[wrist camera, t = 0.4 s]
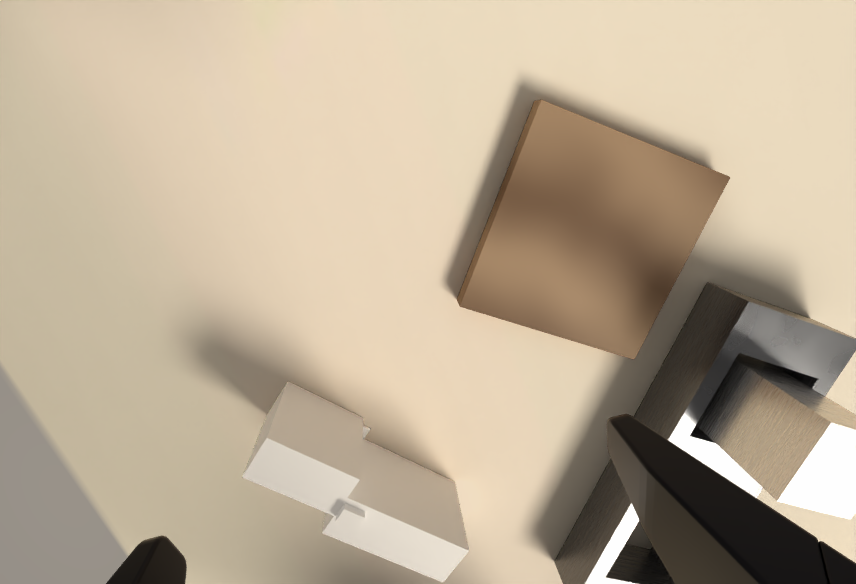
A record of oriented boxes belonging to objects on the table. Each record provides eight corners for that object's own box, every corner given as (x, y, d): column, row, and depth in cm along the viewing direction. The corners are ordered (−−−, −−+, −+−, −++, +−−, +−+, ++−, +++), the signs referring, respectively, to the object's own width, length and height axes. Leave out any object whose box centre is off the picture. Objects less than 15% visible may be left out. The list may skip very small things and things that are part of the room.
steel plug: (724, 415, 28) (850, 519, 21) (668, 399, 27) (777, 501, 20) (760, 357, 27) (906, 445, 20) (702, 338, 26) (831, 422, 19)
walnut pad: (625, 351, 26) (634, 359, 25) (456, 299, 24) (459, 306, 23) (716, 175, 23) (730, 176, 22) (534, 100, 21) (541, 99, 20)
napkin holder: (495, 500, 29) (520, 584, 24) (322, 558, 30) (309, 654, 24) (416, 283, 24) (426, 327, 19) (209, 356, 25) (160, 420, 19)
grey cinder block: (646, 580, 32) (671, 623, 29) (554, 561, 31) (572, 605, 28) (810, 318, 27) (861, 341, 24) (707, 282, 25) (749, 301, 22)
